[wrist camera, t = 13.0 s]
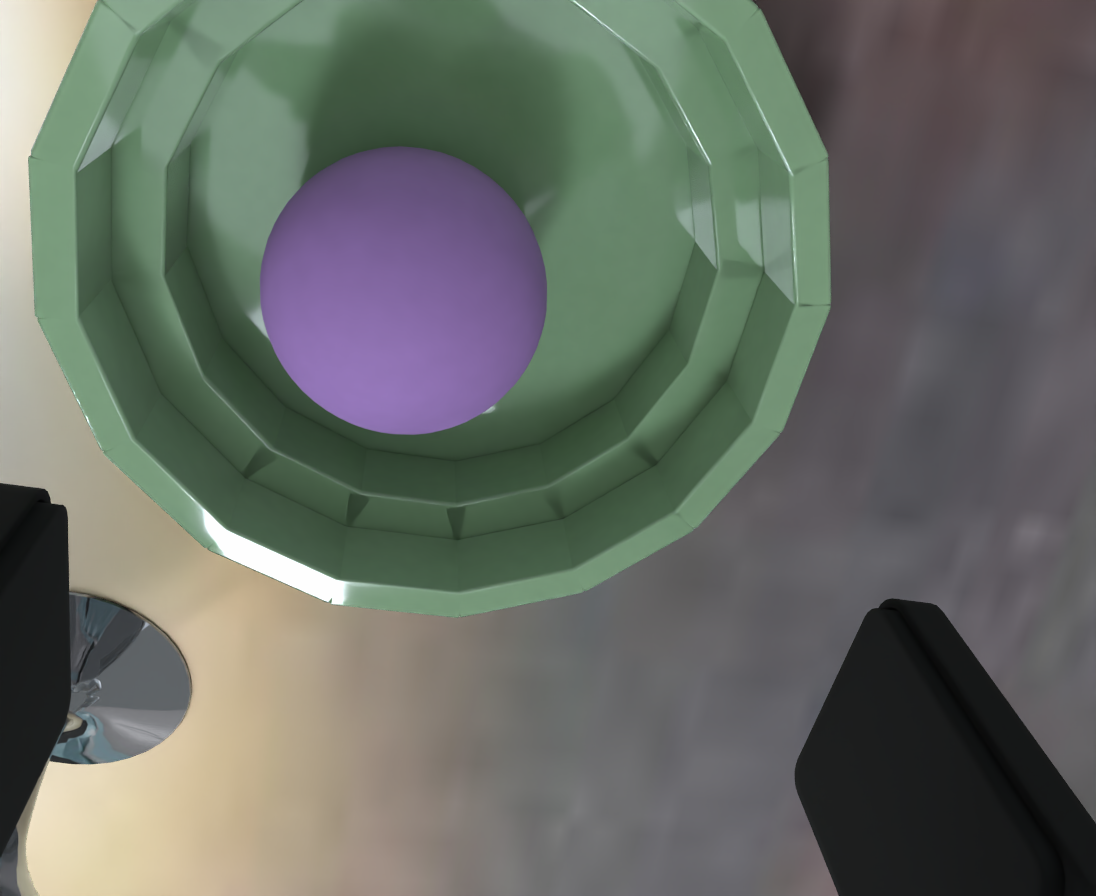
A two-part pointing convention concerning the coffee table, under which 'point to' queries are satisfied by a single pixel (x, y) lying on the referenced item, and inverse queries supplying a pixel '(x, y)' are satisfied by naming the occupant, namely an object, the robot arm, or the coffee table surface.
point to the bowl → (559, 227)
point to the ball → (403, 290)
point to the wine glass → (107, 704)
